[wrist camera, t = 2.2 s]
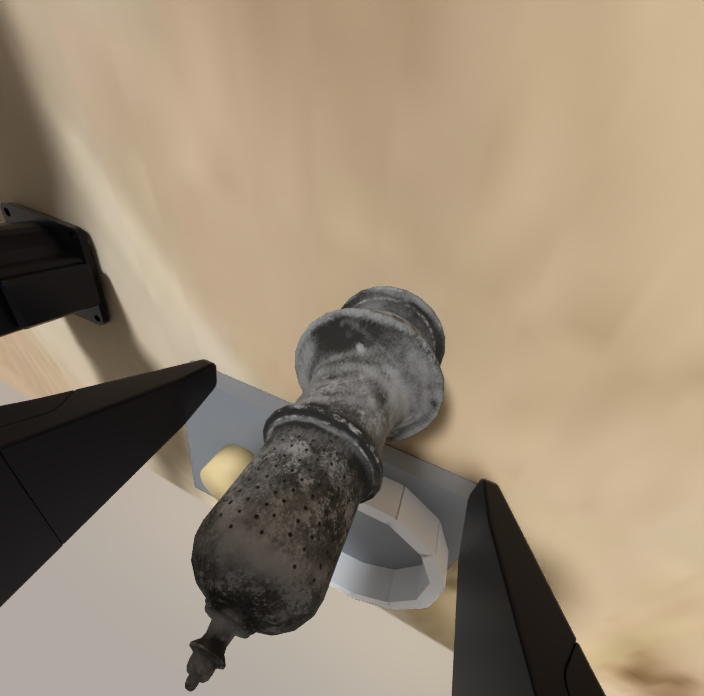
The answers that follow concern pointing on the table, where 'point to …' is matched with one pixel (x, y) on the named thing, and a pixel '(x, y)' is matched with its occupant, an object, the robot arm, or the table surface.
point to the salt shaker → (315, 469)
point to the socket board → (371, 516)
